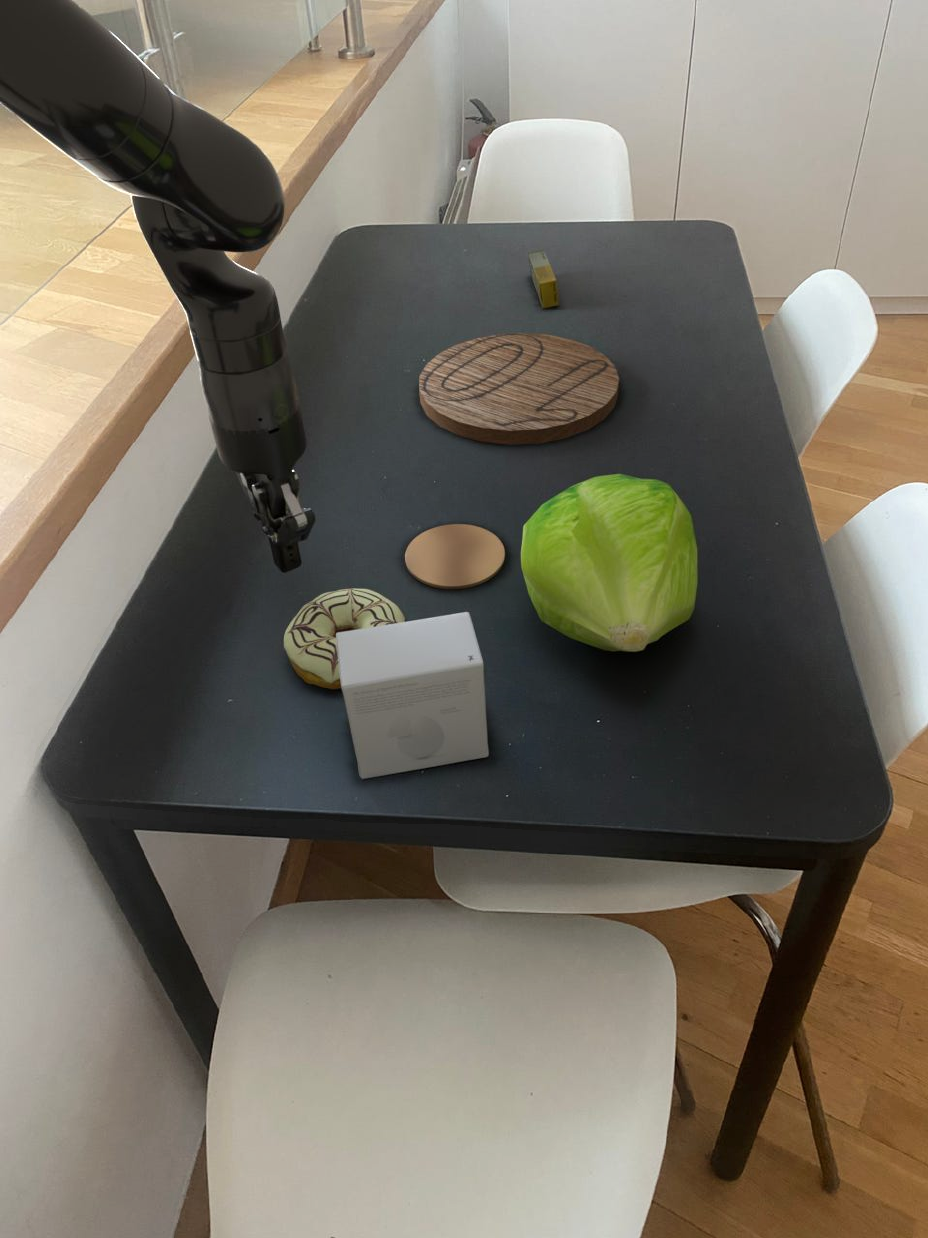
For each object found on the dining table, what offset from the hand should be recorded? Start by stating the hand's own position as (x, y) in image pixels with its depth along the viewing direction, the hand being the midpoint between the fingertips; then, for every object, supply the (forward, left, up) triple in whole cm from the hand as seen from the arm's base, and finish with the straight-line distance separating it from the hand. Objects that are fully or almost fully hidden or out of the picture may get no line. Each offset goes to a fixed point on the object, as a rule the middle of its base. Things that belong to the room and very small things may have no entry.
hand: (288, 566), depth 88 cm
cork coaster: (+16, -2, -3) cm, 17 cm away
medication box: (+50, +52, -3) cm, 73 cm away
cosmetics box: (+5, -23, -3) cm, 24 cm away
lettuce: (+25, -17, -3) cm, 30 cm away
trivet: (+35, +26, -3) cm, 44 cm away
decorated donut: (+3, -11, -3) cm, 11 cm away
